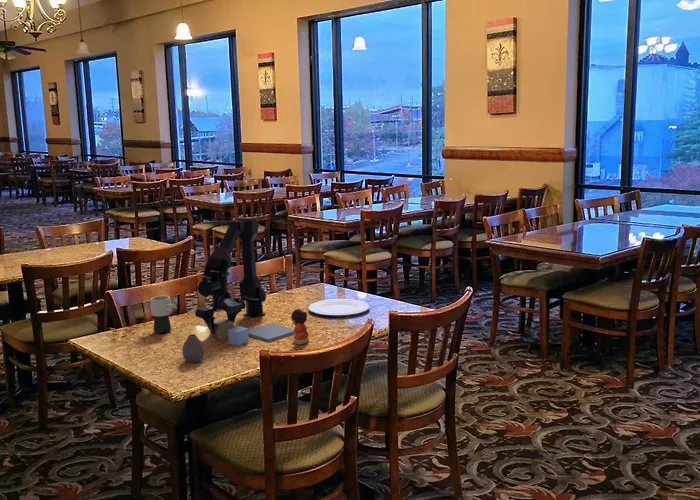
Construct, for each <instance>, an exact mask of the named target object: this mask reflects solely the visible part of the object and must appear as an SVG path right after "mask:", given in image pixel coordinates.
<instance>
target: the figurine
mask: <svg viewBox="0 0 700 500" xmlns="http://www.w3.org/2000/svg"><path fill="white" fill-rule="evenodd" d="M290 318H291V321H292V324H293V325H294V328H293V329H294V334H293V339H294V340H293V341H292V344H294V345H303V344H307V343H309V342H310V339H309V332H308V330H307V329H308V327H307V326H306V324H305V323H306V322H307V319H308V313H307V311H304V310H303V309H300V308H297V309H294V310H293V311H292V313H291V317H290Z"/></svg>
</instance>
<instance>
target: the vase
mask: <svg viewBox="0 0 700 500" xmlns="http://www.w3.org/2000/svg"><path fill="white" fill-rule="evenodd" d="M187 336H188V337H187V339H186V340H185V341H184V343H183V345H182V348H181V352H182V357H183V359H184V361H186V362H187V363H189V364H196V363H199V362H201V360H202V359H203V357H204V355H205V347H204V344H203V342H202V341H201V340H200V339H199V338H198V336H197V335H196V334H195V333H193V334H189V335H187Z"/></svg>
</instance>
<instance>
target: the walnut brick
mask: <svg viewBox="0 0 700 500" xmlns="http://www.w3.org/2000/svg"><path fill="white" fill-rule="evenodd" d="M231 328H234V324H233V321H230V320H228V318H227V319H226V318H220V319H215V320H214V334H211V332H210V331H209V333H210V335H211V336H213V337H216V338H219V339H222V338H226V337H228V329H231Z"/></svg>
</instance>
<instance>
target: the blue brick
mask: <svg viewBox="0 0 700 500" xmlns="http://www.w3.org/2000/svg"><path fill="white" fill-rule="evenodd" d="M248 330H249V328H247V327H244V326H240V325H238V326H235V327H234V326H233V328H231V329H228V336H227V337H228V343H229V344H232V345H236V346H241V345H244V344H246V343H247V344H248V343H250V340H249V338H250V336H249V333H248Z"/></svg>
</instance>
